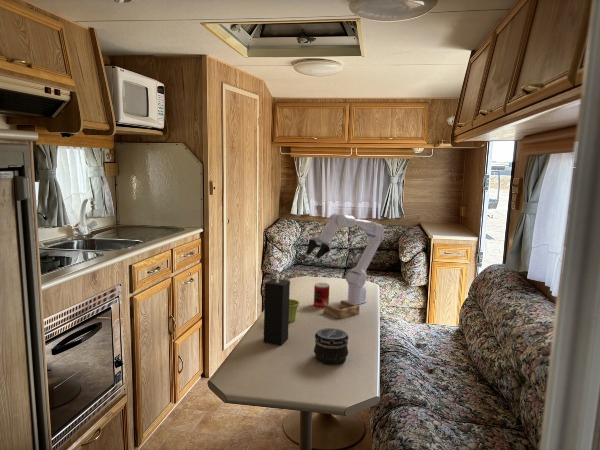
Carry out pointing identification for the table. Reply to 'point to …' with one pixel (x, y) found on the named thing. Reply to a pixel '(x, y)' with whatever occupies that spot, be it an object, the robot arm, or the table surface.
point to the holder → (342, 310)
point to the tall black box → (276, 311)
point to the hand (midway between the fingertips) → (312, 255)
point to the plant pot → (292, 309)
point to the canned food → (321, 294)
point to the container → (331, 346)
